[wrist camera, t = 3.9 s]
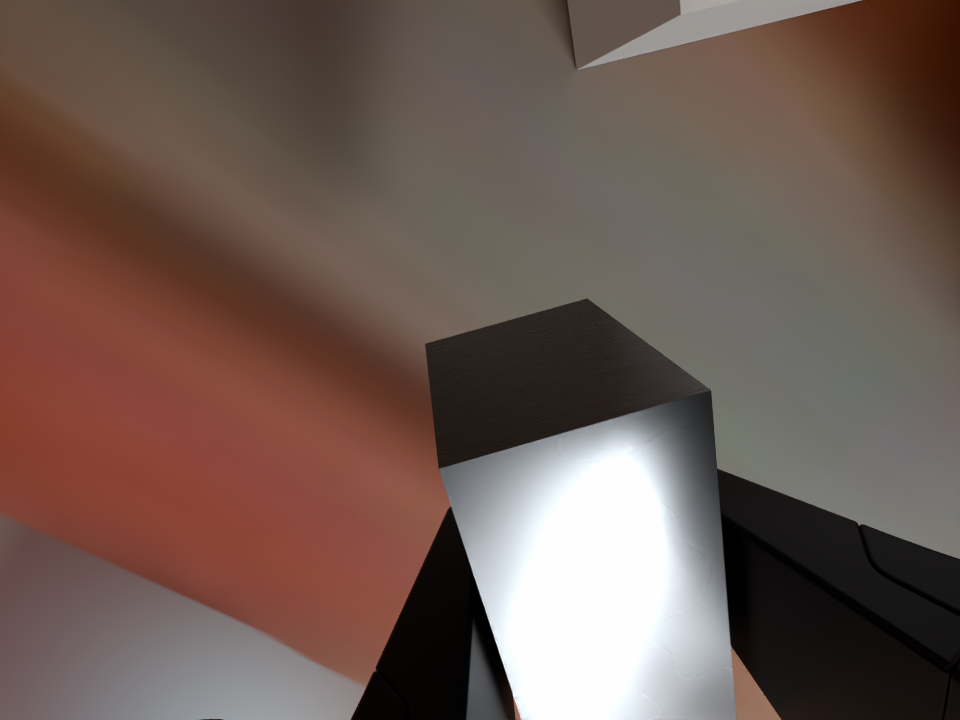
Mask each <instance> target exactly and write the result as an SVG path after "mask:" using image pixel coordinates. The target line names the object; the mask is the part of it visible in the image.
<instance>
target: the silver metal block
mask: <svg viewBox="0 0 960 720" xmlns="http://www.w3.org/2000/svg"><path fill="white" fill-rule="evenodd" d="M425 347H426V356H427V365H428V374H429V383H430V393H431V402H432V411H433V420H434V429H435V439H436V448H437V457H438V466H439V471H440V474H441V477H442V480H443V483H444V486H445V489H446V492H447V495H448V498H449V501H450V504H451V507H452V510H453V514H454V517H455V520H456V523H457V526H458V529H459V532H460V535H461V538H462V541H463V544H464V547H465V550H466V553H467V556H468V559H469V562H470V565H471V568H472V571H473V574H474V577H475V580H476V583H477V586H478V589H479V592H480V595H481V598H482V601H483V604H484V607H485V610H486V614H487V617H488V620H489V623H490V626H491V629H492V632H493V635H494V638H495V641H496V644H497V647H498V650H499V653H500V656H501V659H502V662H503V665H504V668H505V671H506V674H507V677H508V680H509V683H510V686H511V689H512V692H513V695H514V698H515V701H516V704H517V707H518V710H519V714H520V717H521V720H736V709H735V696H734V683H733V670H732V657H731V644H730V631H729V618H728V605H727V592H726V579H725V566H724V553H723V540H722V527H721V514H720V501H719V488H718V475H717V462H716V449H715V436H714V423H713V410H712V397H711V390H710V389H709V388H707V387H706V386H705V385H703V384H702V383H700V382H699V381H698V380H696V379H695V378H694V377H692V376H691V375H690V374H688V373H687V372H686V371H684V370H683V369H682V368H680V367H679V366H678V365H676V364H675V363H673V362H672V361H671V360H669V359H668V358H667V357H665V356H664V355H663V354H661V353H660V352H659V351H657V350H656V349H655V348H653V347H652V346H651V345H649V344H648V343H647V342H645V341H644V340H642V339H641V338H640V337H638V336H637V335H636V334H634V333H633V332H632V331H630V330H629V329H628V328H626V327H625V326H624V325H622V324H621V323H620V322H618V321H617V320H615V319H614V318H613V317H611V316H610V315H609V314H607V313H606V312H605V311H603V310H602V309H601V308H599V307H598V306H597V305H595V304H594V303H593V302H591V301H590V300H588V299H584V300H580V301H577V302H573V303H570V304H566V305H562V306H559V307H555V308H552V309H548V310H545V311H541V312H537V313H534V314H530V315H527V316H523V317H520V318H516V319H512V320H509V321H505V322H502V323H498V324H495V325H491V326H487V327H484V328H480V329H477V330H473V331H469V332H466V333H462V334H459V335H455V336H452V337H448V338H444V339H441V340H437V341H434V342H430V343H427V344H425Z"/></svg>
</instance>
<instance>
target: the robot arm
mask: <svg viewBox="0 0 960 720" xmlns="http://www.w3.org/2000/svg"><path fill="white" fill-rule="evenodd" d="M717 475H718V488H719V501H720V514H721V527H722V540H723V553H724V566H725V579H726V592H727V605H728V618H729V631H730V644H731V646H732V648H733V649H734V651H735V652H736V654H737V655H738V657H739V658H740V660H741V661H742V663H743V664H744V665H745V667H746V668H747V670H748V671H749V673H750V674H751V676H752V677H753V679H754V680H755V682H756V683H757V685H758V686H759V687H760V689H761V690H762V692H763V693H764V695H765V696H766V698H767V699H768V701H769V702H770V704H771V705H772V707H773V708H774V709H775V711H776V712H777V714H778V715H779V717H780V718H781V720H960V559H958V558H955V557H952V556H949V555H946V554H943V553H940V552H937V551H934V550H931V549H928V548H926V547H923V546H920V545H917V544H915V543H912V542H909V541H906V540H904V539H901V538H898V537H895V536H893V535H890V534H887V533H885V532H882V531H879V530H877V529H874V528H872V527H869V526H866V525H864V524H861V525H860V526H859V525H858V523H857V522H855V521H853V520H850V519H848V518H845V517H842V516H840V515H837V514H834V513H832V512H829V511H827V510H824V509H821V508H819V507H816V506H814V505H811V504H808V503H806V502H803V501H800V500H798V499H795V498H793V497H790V496H787V495H785V494H782V493H780V492H777V491H774V490H772V489H769V488H767V487H764V486H761V485H759V484H756V483H753V482H751V481H748V480H746V479H743V478H740V477H738V476H735V475H733V474H730V473H727V472H725V471H722V470H719V469H717ZM351 720H515V711H514V702H513V694H512V689H511V686H510V683H509V680H508V677H507V674H506V671H505V668H504V665H503V662H502V659H501V656H500V653H499V650H498V647H497V644H496V641H495V638H494V635H493V632H492V629H491V626H490V623H489V620H488V617H487V614H486V610H485V607H484V604H483V601H482V598H481V595H480V592H479V589H478V586H477V583H476V580H475V577H474V574H473V571H472V568H471V565H470V562H469V559H468V556H467V553H466V550H465V547H464V544H463V541H462V538H461V535H460V532H459V529H458V526H457V523H456V520H455V517H454V514H453V510H452V507H450V508H449V509H448V510H447V512H446V515H445V517H444V519H443V521H442V523H441V526H440V528H439V530H438V532H437V534H436V537H435V539H434V541H433V543H432V545H431V547H430V550H429V552H428V554H427V556H426V558H425V561H424V563H423V565H422V567H421V569H420V572H419V574H418V576H417V578H416V580H415V582H414V585H413V587H412V589H411V591H410V593H409V596H408V598H407V600H406V602H405V604H404V607H403V609H402V611H401V613H400V615H399V617H398V620H397V622H396V624H395V626H394V628H393V631H392V633H391V635H390V637H389V639H388V642H387V644H386V646H385V648H384V650H383V652H382V655H381V657H380V659H379V661H378V663H377V666H376V671H375V672H373V674H372V676H371V678H370V680H369V683H368V685H367V687H366V689H365V691H364V694H363V696H362V698H361V700H360V702H359V704H358V706H357V708H356V710H355V712H354V714H353V716H352V718H351Z"/></svg>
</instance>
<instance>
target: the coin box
mask: <svg viewBox="0 0 960 720" xmlns="http://www.w3.org/2000/svg"><path fill="white" fill-rule="evenodd" d="M857 1H861V0H567V3H568V10H569V17H570V25H571V32H572V39H573V47H574V54H575V61H576V69H577V70H579V69H583V68H587V67H591V66H595V65H600V64H604V63H608V62H612V61H616V60H620V59H624V58H628V57H632V56H636V55H640V54H645V53H649V52H653V51H657V50H661V49H665V48H669V47H673V46H677V45H681V44H685V43H690V42H694V41H698V40H702V39H706V38H710V37H714V36H718V35H722V34H726V33H730V32H734V31H739V30H743V29H747V28H751V27H755V26H759V25H763V24H767V23H771V22H775V21H779V20H784V19H788V18H792V17H796V16H800V15H804V14H808V13H812V12H816V11H820V10H824V9H829V8H833V7H837V6H841V5H845V4H849V3H853V2H857Z"/></svg>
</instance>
